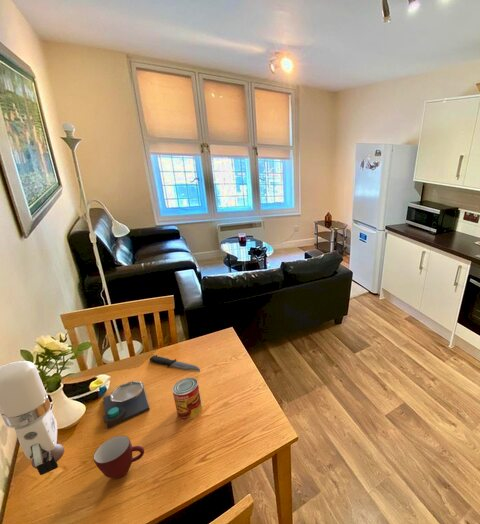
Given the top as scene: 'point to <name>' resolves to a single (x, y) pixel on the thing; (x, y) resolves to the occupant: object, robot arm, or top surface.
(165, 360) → the knife
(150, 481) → the top surface
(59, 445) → the egg
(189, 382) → the canned food
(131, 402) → the scale
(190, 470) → the top surface
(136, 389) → the shallow metal dish
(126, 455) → the mug
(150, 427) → the top surface
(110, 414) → the tare button
